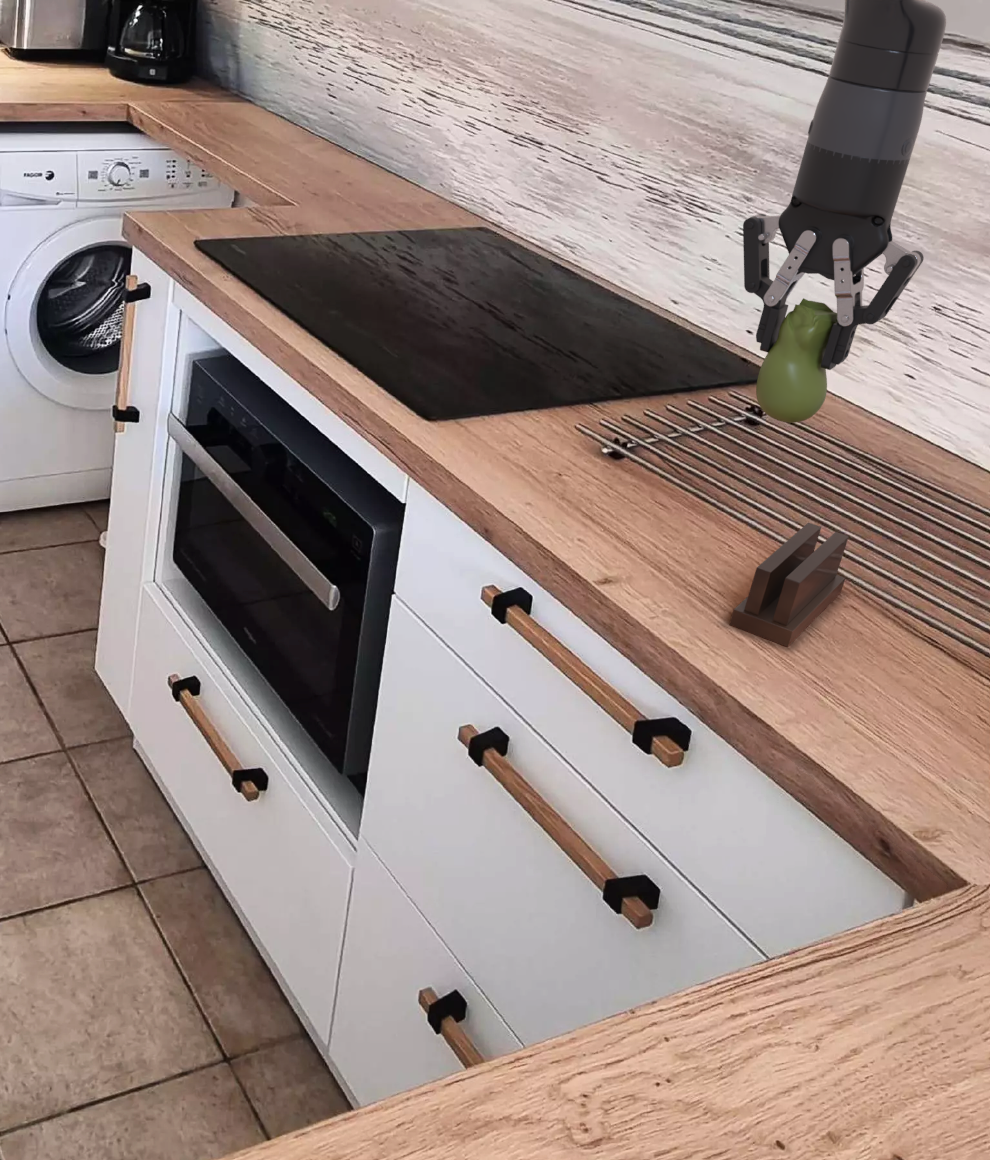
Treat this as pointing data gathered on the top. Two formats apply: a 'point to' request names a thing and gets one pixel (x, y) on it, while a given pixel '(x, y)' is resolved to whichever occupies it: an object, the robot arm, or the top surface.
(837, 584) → the holder
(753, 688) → the top surface
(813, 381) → the pear
